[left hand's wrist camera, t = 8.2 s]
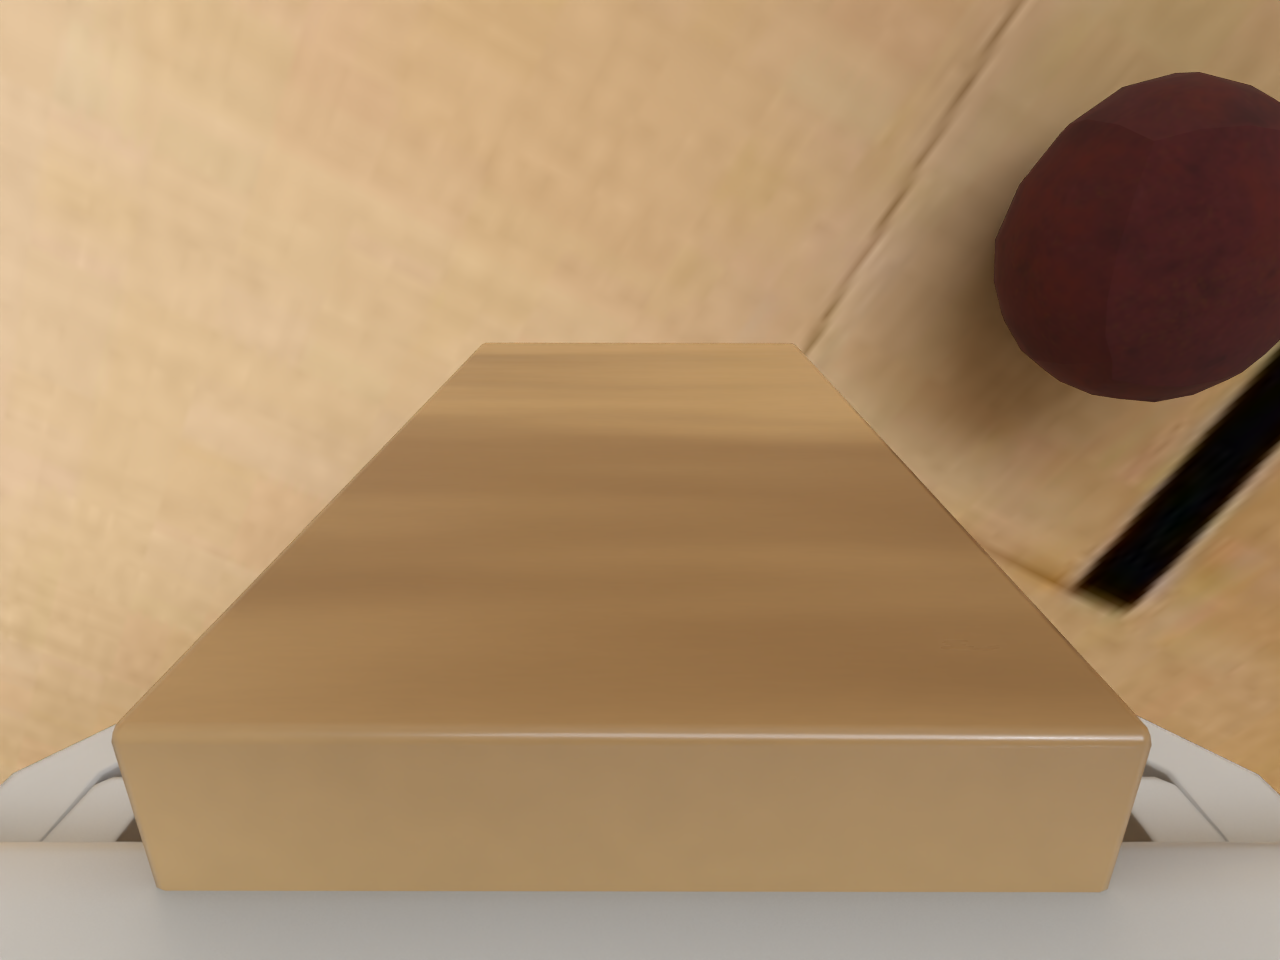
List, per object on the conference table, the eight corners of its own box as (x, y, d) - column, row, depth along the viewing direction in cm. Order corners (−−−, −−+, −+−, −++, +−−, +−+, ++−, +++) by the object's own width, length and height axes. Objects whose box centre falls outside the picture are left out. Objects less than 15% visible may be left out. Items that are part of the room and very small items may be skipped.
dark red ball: (938, 368, 24) (1051, 440, 17) (972, 90, 21) (1123, 50, 14) (1175, 363, 24) (1379, 432, 17) (1241, 84, 21) (1516, 41, 14)
